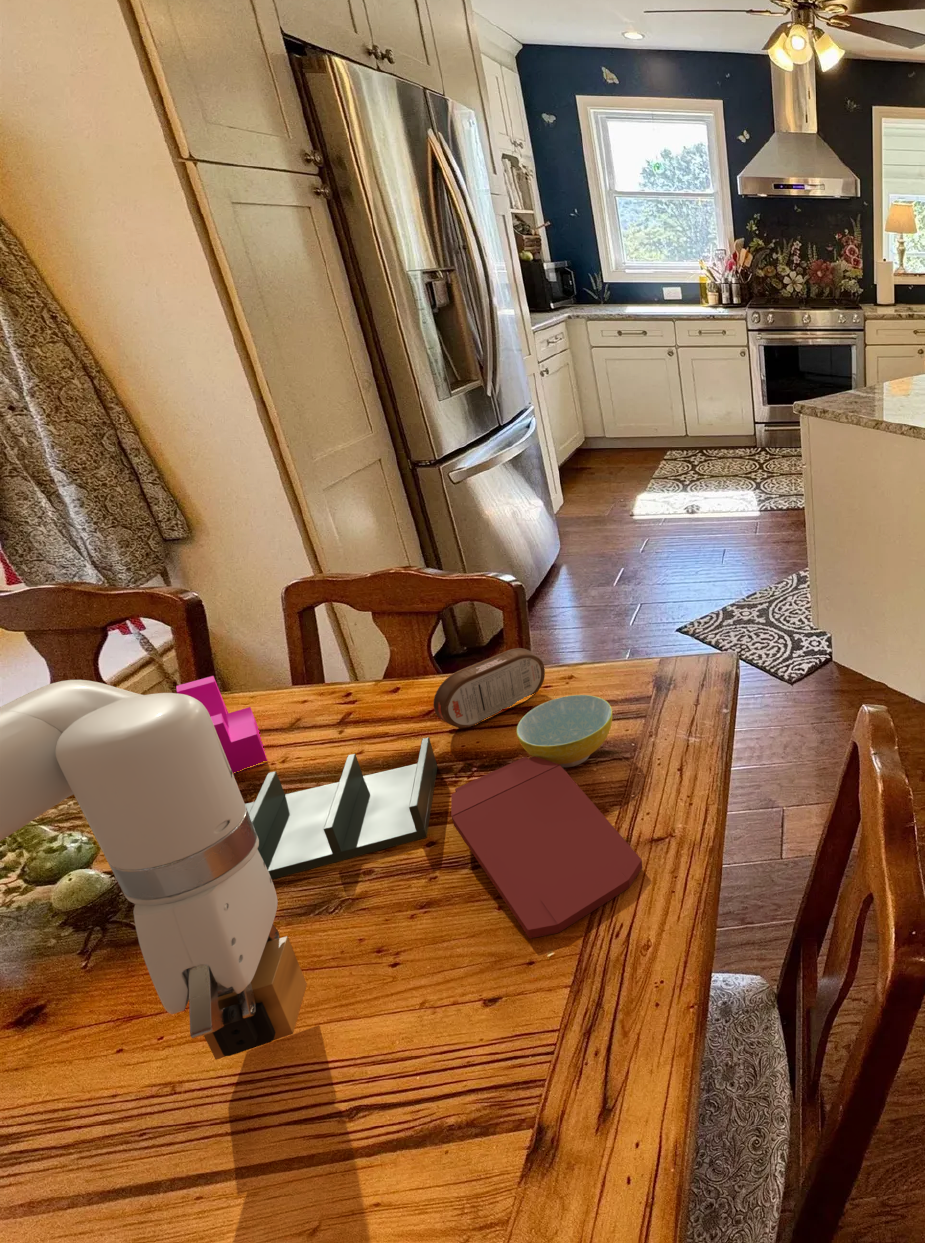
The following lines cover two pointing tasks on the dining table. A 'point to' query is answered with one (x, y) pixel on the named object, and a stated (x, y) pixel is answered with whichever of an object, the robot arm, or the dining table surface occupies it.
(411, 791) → the rack
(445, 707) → the tin
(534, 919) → the carton
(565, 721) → the bowl
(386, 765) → the dining table surface
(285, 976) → the package
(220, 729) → the toy block
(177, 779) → the robot arm
